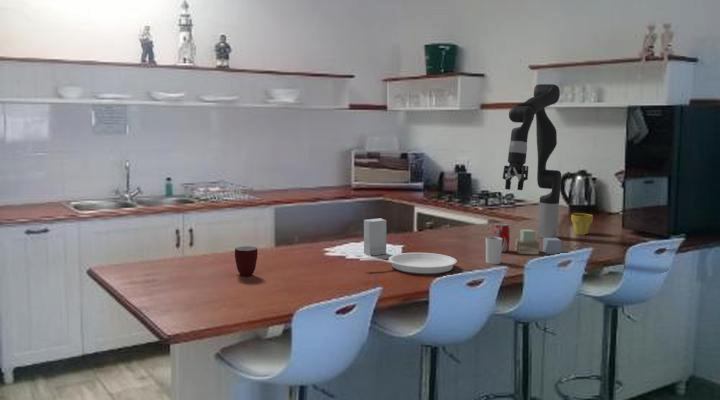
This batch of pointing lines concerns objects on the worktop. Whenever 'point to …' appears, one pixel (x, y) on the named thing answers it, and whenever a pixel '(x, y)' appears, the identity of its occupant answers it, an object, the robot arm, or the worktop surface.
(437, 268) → the pan
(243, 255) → the mug
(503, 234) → the soda can
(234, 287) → the worktop surface
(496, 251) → the drinking glass
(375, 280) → the worktop surface
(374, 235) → the skincare box
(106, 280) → the worktop surface
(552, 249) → the slate block
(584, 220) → the plant pot
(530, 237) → the green cap
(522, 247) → the button housing
